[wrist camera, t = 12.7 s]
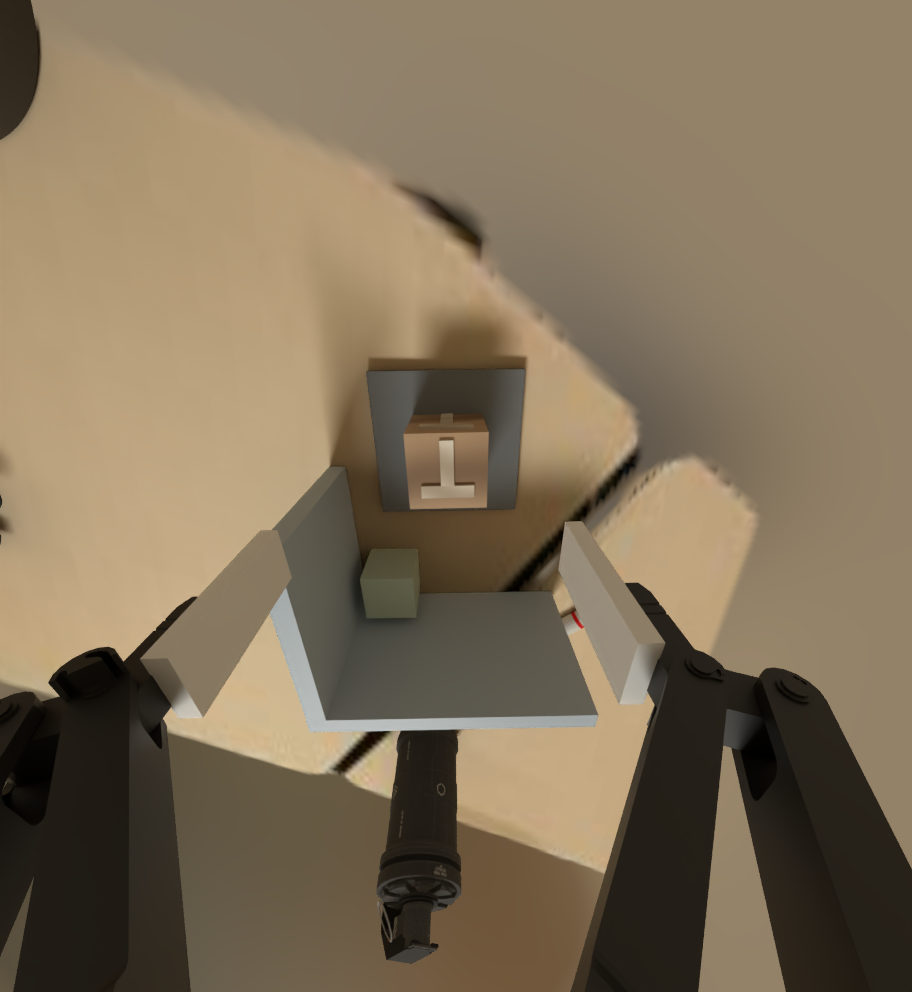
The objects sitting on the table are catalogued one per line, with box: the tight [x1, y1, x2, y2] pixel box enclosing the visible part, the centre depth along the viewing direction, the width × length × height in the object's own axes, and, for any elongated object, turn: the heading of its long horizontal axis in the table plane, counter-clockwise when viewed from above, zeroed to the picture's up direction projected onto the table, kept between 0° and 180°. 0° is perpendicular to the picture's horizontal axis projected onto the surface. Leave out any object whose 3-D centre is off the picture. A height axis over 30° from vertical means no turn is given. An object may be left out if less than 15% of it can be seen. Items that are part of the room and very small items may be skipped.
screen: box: [270, 466, 598, 732], centre depth 29 cm, size 17×23×14 cm
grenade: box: [377, 729, 461, 964], centre depth 42 cm, size 9×11×20 cm
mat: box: [366, 368, 525, 512], centre depth 31 cm, size 13×13×1 cm
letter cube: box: [403, 413, 489, 509], centre depth 27 cm, size 6×6×6 cm
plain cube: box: [360, 548, 420, 618], centre depth 35 cm, size 5×5×5 cm
